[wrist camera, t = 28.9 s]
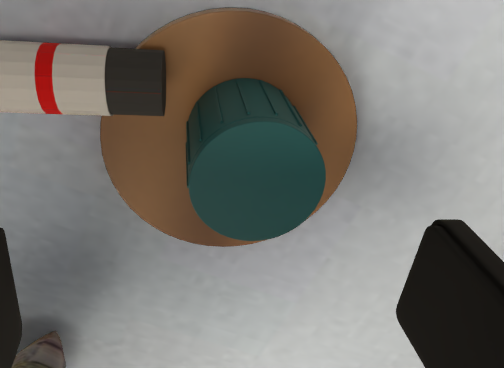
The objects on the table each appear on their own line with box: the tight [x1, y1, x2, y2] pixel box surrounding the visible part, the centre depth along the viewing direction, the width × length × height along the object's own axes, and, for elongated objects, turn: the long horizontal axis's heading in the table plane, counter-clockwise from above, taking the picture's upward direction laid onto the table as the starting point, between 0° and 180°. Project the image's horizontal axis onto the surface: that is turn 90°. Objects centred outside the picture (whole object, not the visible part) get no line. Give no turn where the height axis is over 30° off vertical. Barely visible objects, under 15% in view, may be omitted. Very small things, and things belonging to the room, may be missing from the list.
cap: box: [186, 78, 326, 241], centre depth 14 cm, size 4×4×4 cm
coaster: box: [100, 8, 357, 247], centre depth 16 cm, size 9×9×1 cm
